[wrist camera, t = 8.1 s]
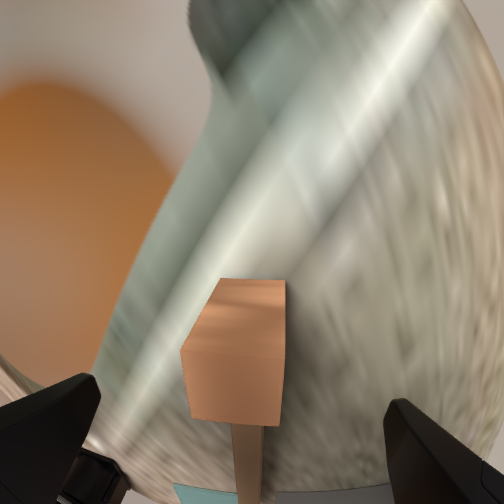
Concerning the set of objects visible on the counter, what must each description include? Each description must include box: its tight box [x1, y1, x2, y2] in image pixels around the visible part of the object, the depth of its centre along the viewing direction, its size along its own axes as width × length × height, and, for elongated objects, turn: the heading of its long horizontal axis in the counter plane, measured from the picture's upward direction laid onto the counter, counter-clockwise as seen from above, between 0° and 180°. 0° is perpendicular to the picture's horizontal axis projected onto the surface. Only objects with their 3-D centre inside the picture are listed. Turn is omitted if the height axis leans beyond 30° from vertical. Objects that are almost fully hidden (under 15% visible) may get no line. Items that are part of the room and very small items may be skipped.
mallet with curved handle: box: [180, 278, 285, 504], centre depth 14 cm, size 3×22×6 cm, turn 0°
